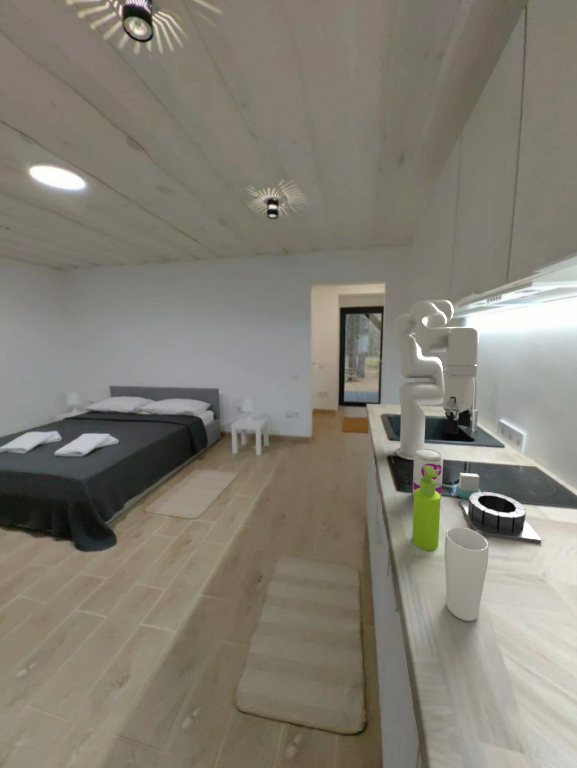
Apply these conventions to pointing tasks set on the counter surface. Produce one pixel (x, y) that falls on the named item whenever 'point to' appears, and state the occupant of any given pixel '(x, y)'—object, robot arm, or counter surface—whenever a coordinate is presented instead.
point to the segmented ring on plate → (498, 517)
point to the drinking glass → (465, 571)
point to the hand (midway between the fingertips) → (457, 429)
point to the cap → (467, 485)
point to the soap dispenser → (426, 512)
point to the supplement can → (432, 460)
